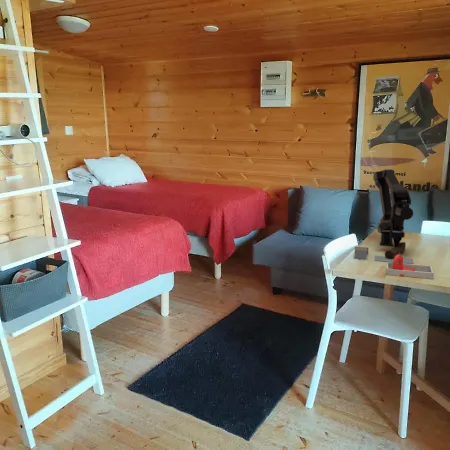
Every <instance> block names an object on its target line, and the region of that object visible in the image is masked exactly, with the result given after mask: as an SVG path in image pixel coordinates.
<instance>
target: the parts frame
mask: <svg viewBox="0 0 450 450" xmlns="http://www.w3.org/2000/svg"><path fill="white" fill-rule="evenodd" d="M385 268H386V275H387V276H399V277H401V276H400V274H401V275H404V277H406V278H419V279H431V280H434V271H433V267H432V265H425V264H424V265H423V264H415V263H414V264H406V263H403V268H407V269H415V271H406V270H394V269H393V262H386V267H385Z"/></svg>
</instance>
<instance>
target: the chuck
mask: <svg viewBox="0 0 450 450" xmlns="http://www.w3.org/2000/svg"><path fill="white" fill-rule="evenodd" d="M355 247H356V249H355V248H354V260H355V259H356V260H365V259H366V260H367V259H368V258H367V256H368V255H367V248H358V247H359V246H355Z"/></svg>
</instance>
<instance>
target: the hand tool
mask: <svg viewBox="0 0 450 450" xmlns="http://www.w3.org/2000/svg"><path fill="white" fill-rule="evenodd" d="M405 252H406V242H401V241H400V243H399V244H398V246H397V247H395V248H394V247H393V248H391V249H388V250H385V252H384V256H385V257H386V258H388V259H392V258H394V257H395V256H396V255H400V254H404V253H405Z"/></svg>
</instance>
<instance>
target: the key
mask: <svg viewBox="0 0 450 450" xmlns="http://www.w3.org/2000/svg"><path fill="white" fill-rule="evenodd" d="M356 247H358V248H367V256H368V255H369V247H366V246H354V250H355V249H356Z"/></svg>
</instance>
